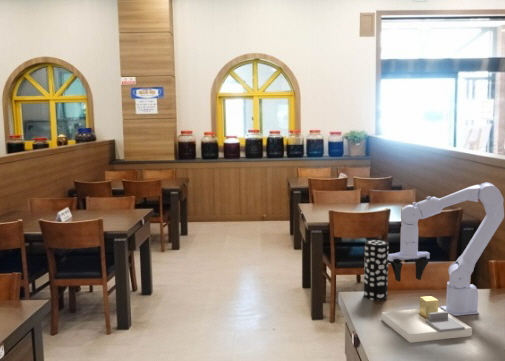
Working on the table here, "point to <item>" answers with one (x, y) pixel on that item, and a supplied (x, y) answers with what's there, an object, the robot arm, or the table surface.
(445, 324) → the panel
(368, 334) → the table surface
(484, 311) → the table surface
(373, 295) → the white-spotted black cylinder
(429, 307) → the peg
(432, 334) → the socket base
